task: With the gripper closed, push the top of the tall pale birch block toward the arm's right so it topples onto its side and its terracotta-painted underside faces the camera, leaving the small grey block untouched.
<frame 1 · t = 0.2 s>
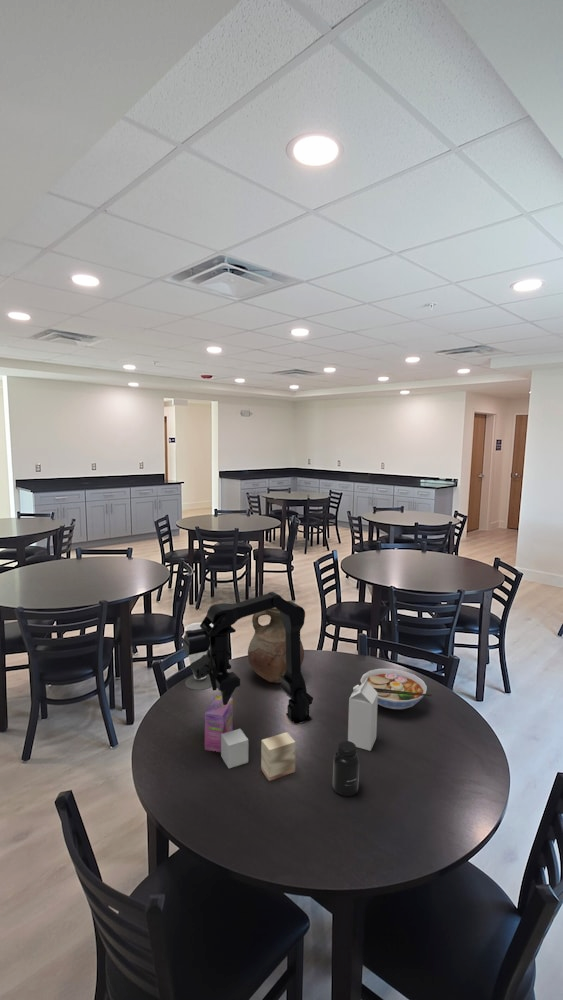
hand: (219, 697, 145), 15 cm above the table, fingers open, 9 cm apart
cup: (200, 682, 182), on the table
jug: (275, 678, 186), on the table
grey block: (234, 759, 139), on the table
supplement bottle: (345, 788, 128), on the table
ramen bowl: (392, 703, 169), on the table
birch block: (278, 770, 134), on the table
milk carton: (362, 742, 147), on the table
box: (219, 741, 147), on the table
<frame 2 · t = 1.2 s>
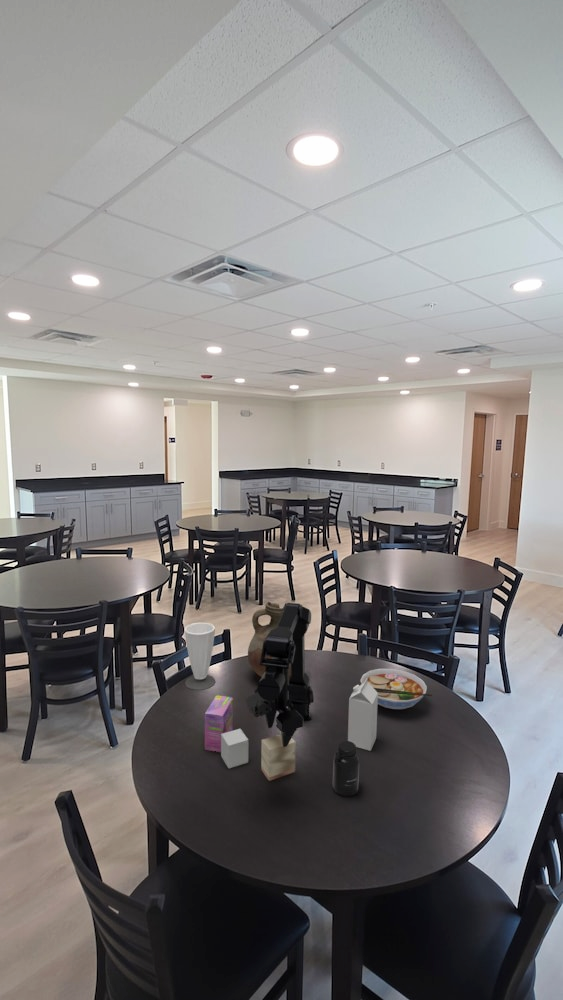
hand: (277, 736, 128), 13 cm above the table, fingers open, 9 cm apart
nothing on the table moved.
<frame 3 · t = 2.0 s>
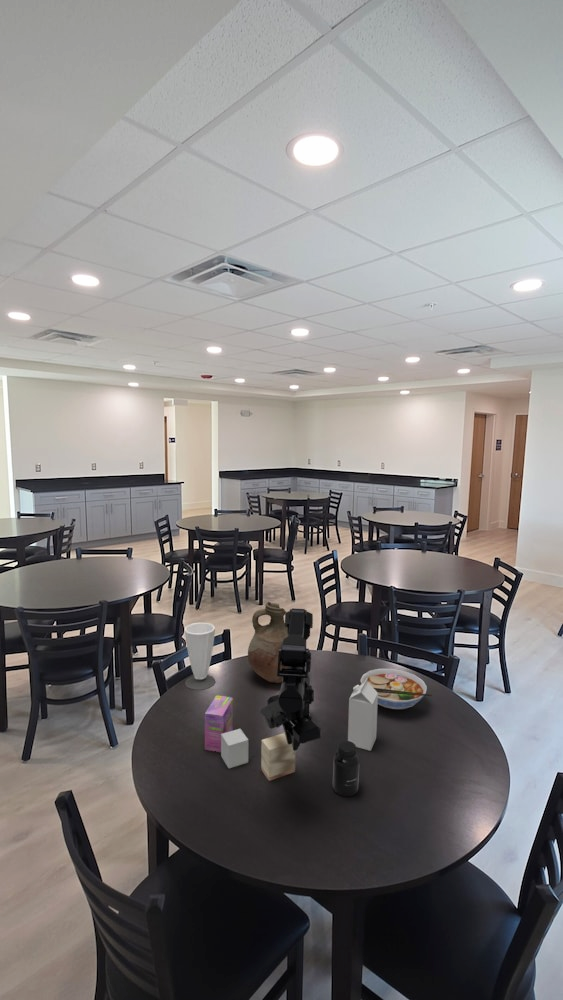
hand: (292, 747, 125), 12 cm above the table, fingers open, 3 cm apart
nothing on the table moved.
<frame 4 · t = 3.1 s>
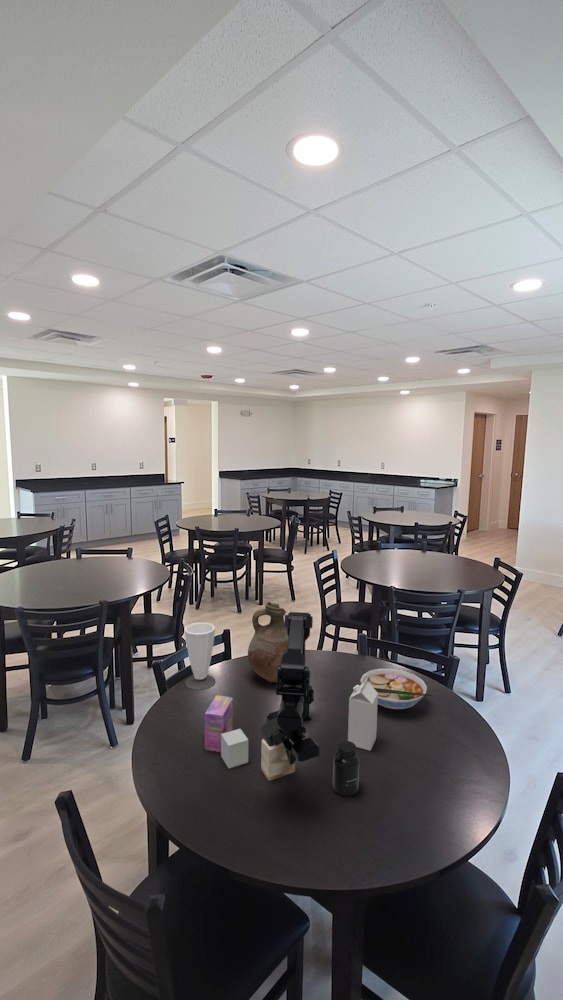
hand: (291, 763, 127), 7 cm above the table, fingers closed
nothing on the table moved.
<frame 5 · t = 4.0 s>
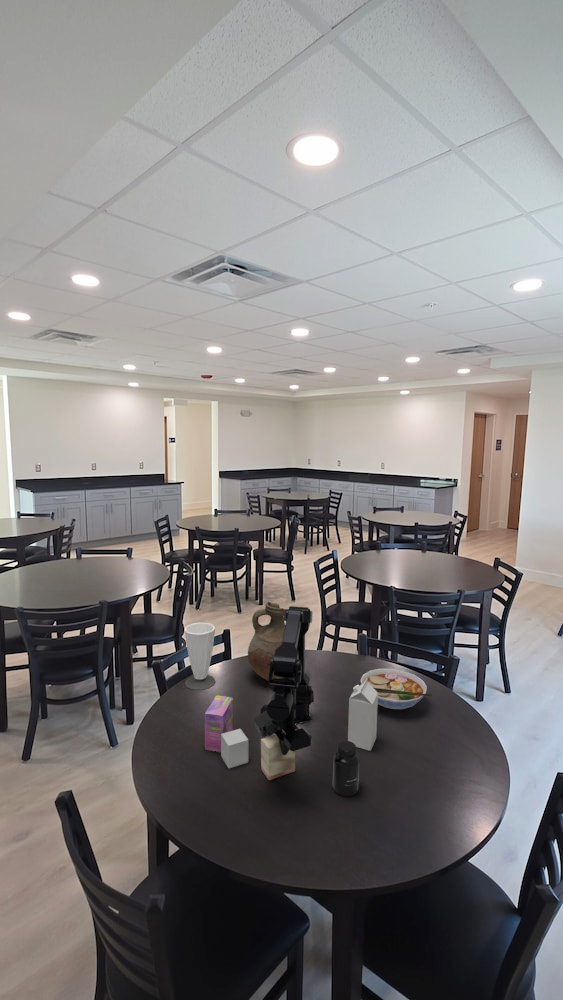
hand: (284, 754, 130), 7 cm above the table, fingers closed
birch block: (278, 770, 134), on the table, touching gripper
everything else where it was.
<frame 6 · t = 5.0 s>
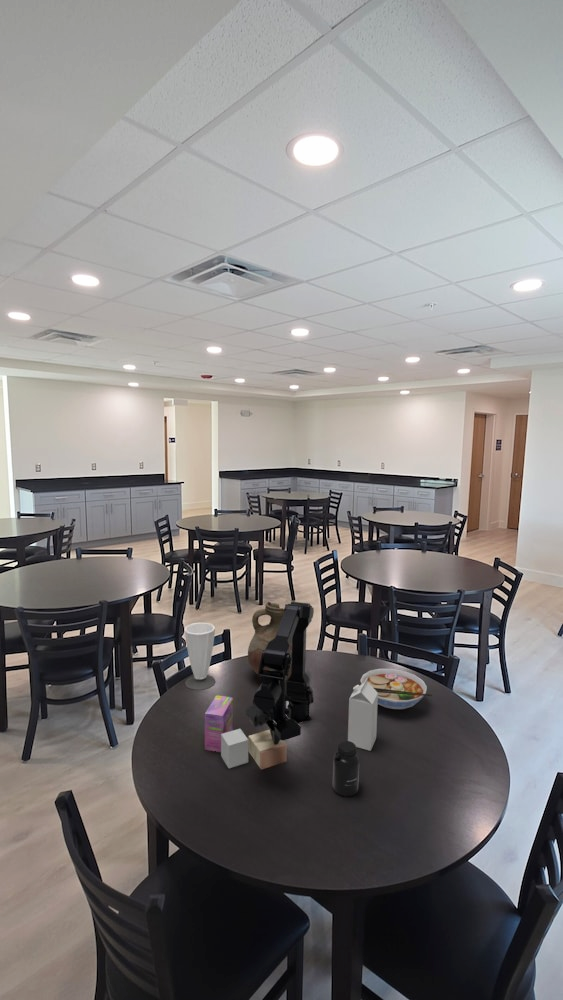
hand: (275, 743, 135), 7 cm above the table, fingers closed
birch block: (274, 757, 136), point 2 cm above the table, tilted 90°
everything else where it was.
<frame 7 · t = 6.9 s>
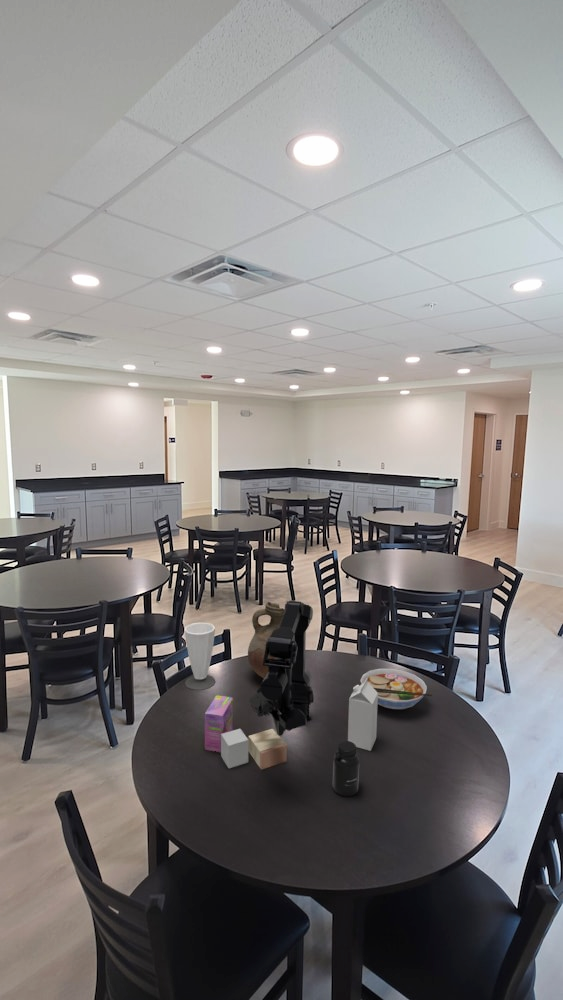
hand: (280, 734, 132), 11 cm above the table, fingers closed
nothing on the table moved.
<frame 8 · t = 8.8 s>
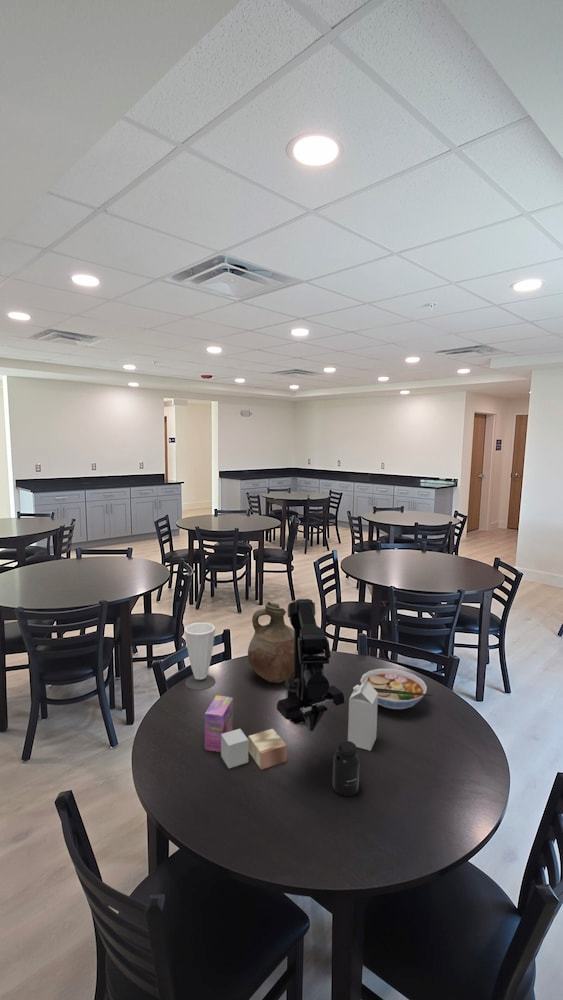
hand: (310, 730, 133), 12 cm above the table, fingers closed
nothing on the table moved.
at the end: birch block tilted 90°; birch block inside the target area (1.0 cm from its centre), point 2.4 cm above the table; grey block tilted 0° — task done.
